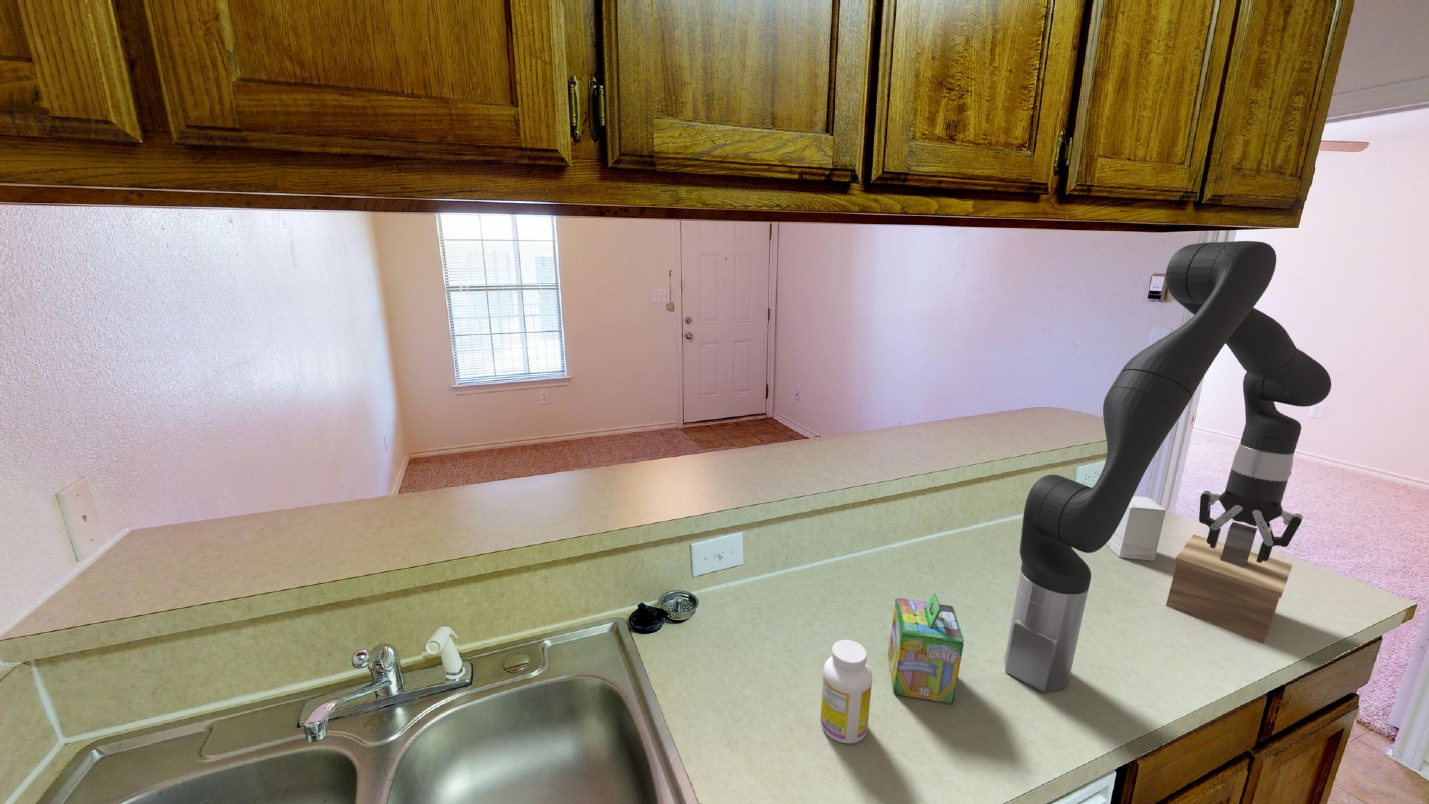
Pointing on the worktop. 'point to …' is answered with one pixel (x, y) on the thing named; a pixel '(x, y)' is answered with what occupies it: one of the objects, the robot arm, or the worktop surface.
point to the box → (1222, 602)
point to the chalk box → (925, 650)
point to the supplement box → (1138, 530)
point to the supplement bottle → (846, 693)
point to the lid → (1236, 561)
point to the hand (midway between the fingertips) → (1235, 553)
